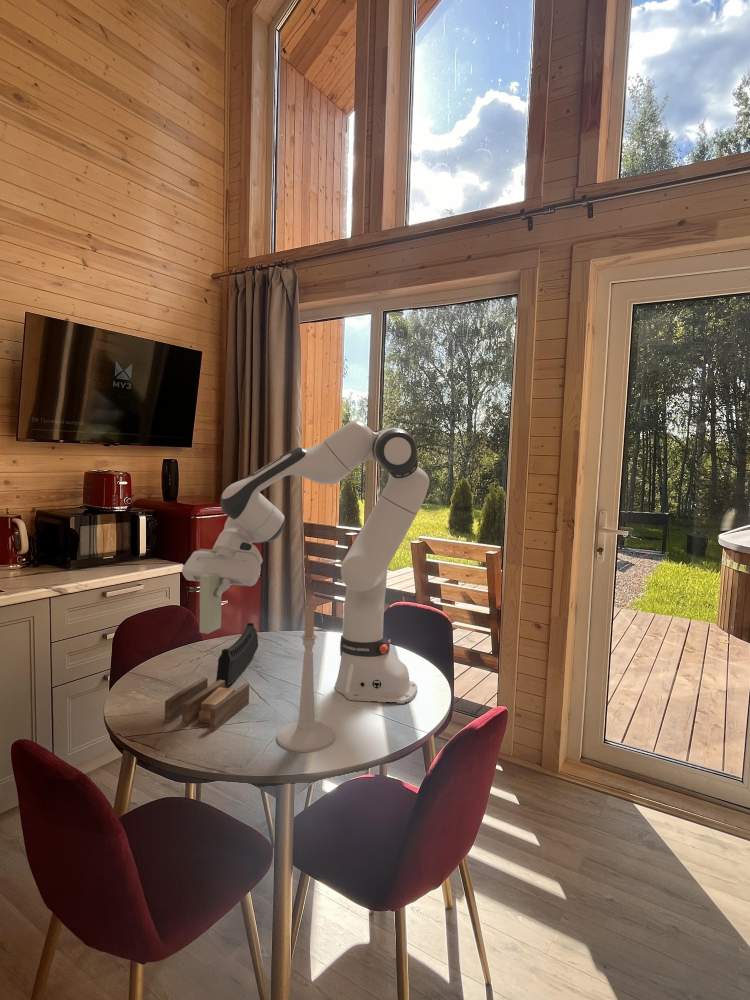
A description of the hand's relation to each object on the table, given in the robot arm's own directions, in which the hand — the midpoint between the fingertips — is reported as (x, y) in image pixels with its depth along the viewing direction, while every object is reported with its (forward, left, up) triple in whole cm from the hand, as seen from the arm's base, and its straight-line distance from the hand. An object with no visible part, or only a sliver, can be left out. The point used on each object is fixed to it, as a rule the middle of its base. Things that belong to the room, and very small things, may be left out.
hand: (209, 595), depth 143 cm
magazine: (+4, -22, -27) cm, 36 cm away
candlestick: (-30, +9, -27) cm, 42 cm away
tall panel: (0, -1, -9) cm, 9 cm away
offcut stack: (-6, +5, -27) cm, 29 cm away
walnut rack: (-3, +5, -27) cm, 28 cm away
